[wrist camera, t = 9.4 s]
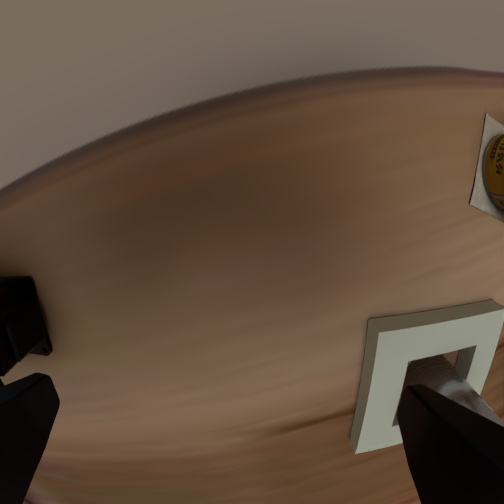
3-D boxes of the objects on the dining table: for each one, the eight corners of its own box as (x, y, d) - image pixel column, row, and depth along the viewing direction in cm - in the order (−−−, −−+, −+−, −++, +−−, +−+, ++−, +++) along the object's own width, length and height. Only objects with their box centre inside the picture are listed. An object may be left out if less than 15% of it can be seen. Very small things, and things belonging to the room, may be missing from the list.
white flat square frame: (349, 438, 23) (355, 453, 21) (368, 319, 20) (378, 332, 19) (459, 409, 23) (468, 421, 21) (492, 299, 21) (506, 308, 19)
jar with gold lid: (403, 403, 23) (463, 506, 11) (397, 367, 22) (471, 479, 10) (446, 380, 22) (517, 469, 11) (443, 343, 21) (531, 435, 10)
